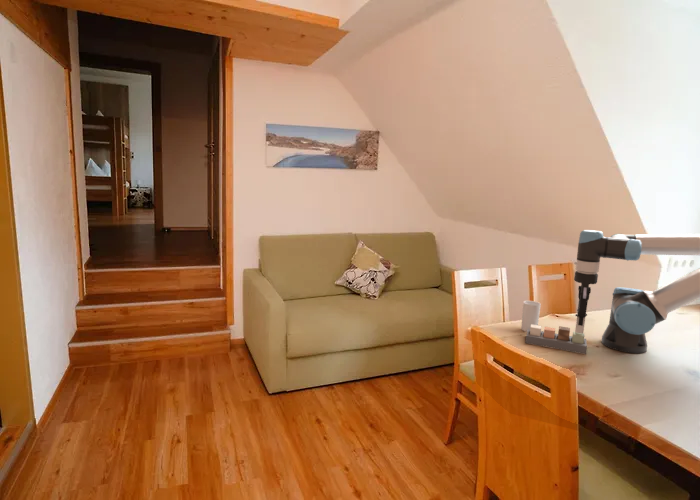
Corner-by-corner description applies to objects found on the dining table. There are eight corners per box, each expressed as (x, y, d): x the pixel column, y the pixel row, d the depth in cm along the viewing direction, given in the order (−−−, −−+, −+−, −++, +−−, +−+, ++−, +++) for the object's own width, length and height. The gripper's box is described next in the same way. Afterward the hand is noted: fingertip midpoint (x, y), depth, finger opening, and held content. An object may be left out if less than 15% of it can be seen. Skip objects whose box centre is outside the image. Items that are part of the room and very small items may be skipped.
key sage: (582, 343, 166) (584, 333, 166) (583, 346, 163) (584, 336, 162) (571, 341, 168) (573, 331, 167) (571, 344, 165) (573, 334, 164)
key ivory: (540, 335, 173) (541, 326, 172) (539, 338, 169) (540, 328, 169) (530, 333, 174) (531, 324, 174) (529, 336, 171) (530, 327, 170)
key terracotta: (554, 338, 171) (555, 328, 170) (553, 341, 167) (555, 331, 167) (543, 336, 172) (544, 326, 172) (543, 339, 169) (544, 329, 168)
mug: (534, 334, 180) (537, 306, 178) (518, 330, 184) (520, 302, 182) (542, 328, 187) (545, 301, 185) (526, 324, 192) (529, 298, 190)
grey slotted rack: (585, 346, 168) (586, 338, 168) (586, 354, 160) (587, 346, 160) (527, 335, 178) (528, 328, 177) (525, 342, 170) (526, 335, 169)
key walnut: (568, 337, 168) (569, 327, 168) (568, 340, 165) (569, 330, 164) (557, 335, 170) (559, 326, 169) (557, 338, 167) (558, 328, 166)
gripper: (575, 267, 168) (568, 325, 172) (575, 273, 157) (568, 336, 160) (597, 270, 165) (589, 329, 169) (599, 276, 153) (591, 339, 157)
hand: (579, 332), depth 165 cm, fingers closed
